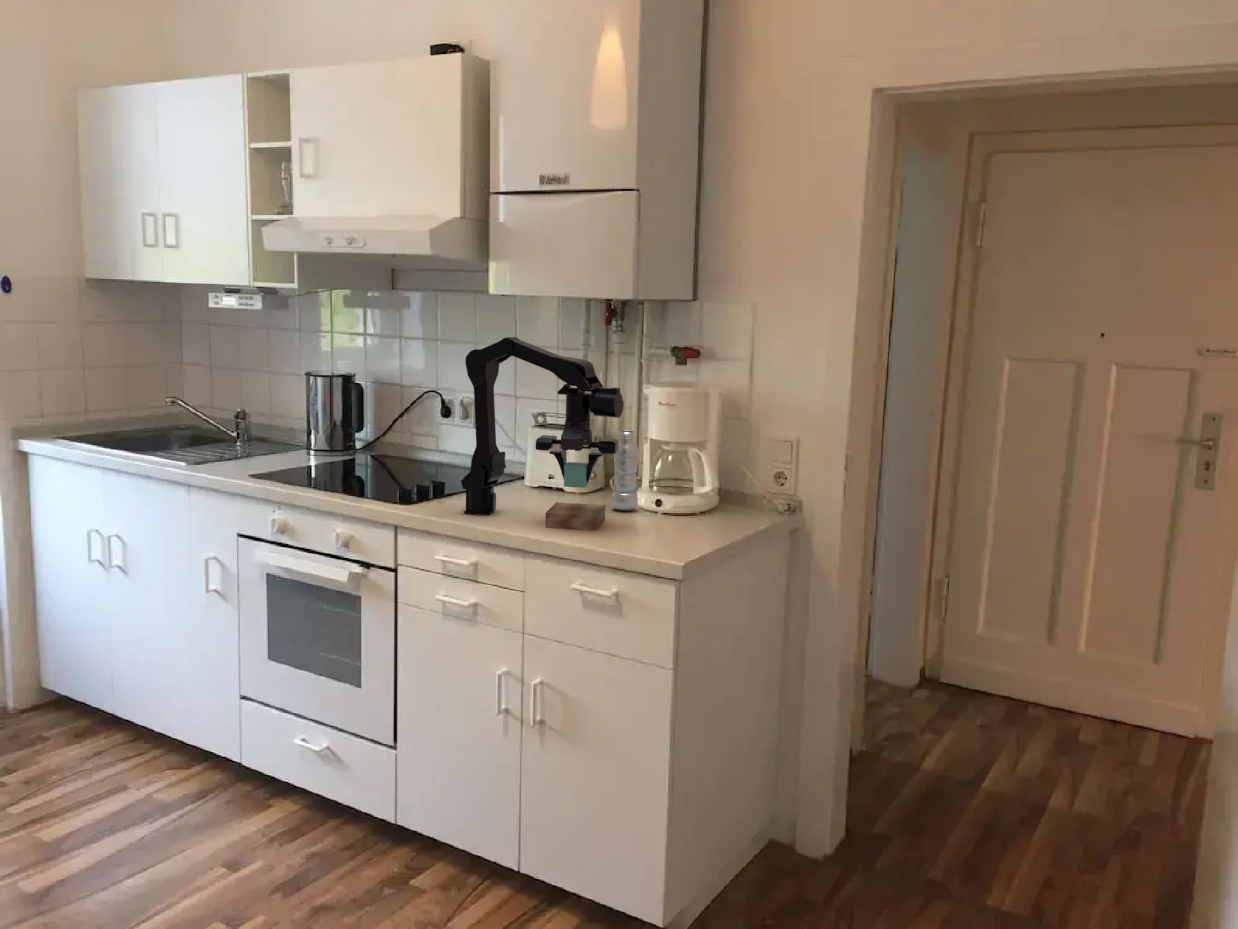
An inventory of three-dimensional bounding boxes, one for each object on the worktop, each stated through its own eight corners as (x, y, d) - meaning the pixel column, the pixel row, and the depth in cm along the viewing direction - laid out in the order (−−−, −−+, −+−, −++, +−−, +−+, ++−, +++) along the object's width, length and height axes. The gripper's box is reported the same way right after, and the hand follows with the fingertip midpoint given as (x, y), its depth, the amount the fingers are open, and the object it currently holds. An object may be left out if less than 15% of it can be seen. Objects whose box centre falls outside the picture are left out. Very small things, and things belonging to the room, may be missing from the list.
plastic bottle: (622, 506, 267) (624, 428, 264) (643, 510, 263) (645, 431, 260) (605, 510, 262) (608, 431, 259) (626, 514, 258) (629, 434, 255)
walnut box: (545, 529, 241) (545, 512, 241) (555, 518, 253) (556, 502, 252) (596, 532, 240) (597, 515, 239) (604, 521, 251) (605, 505, 251)
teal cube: (563, 486, 243) (564, 465, 242) (568, 482, 248) (568, 461, 247) (585, 487, 242) (585, 466, 241) (588, 483, 247) (589, 463, 246)
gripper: (530, 416, 235) (529, 484, 238) (612, 420, 233) (610, 489, 235) (541, 411, 246) (540, 476, 249) (619, 415, 244) (617, 480, 246)
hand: (576, 481), depth 245 cm, fingers closed on teal cube, 5 cm apart
